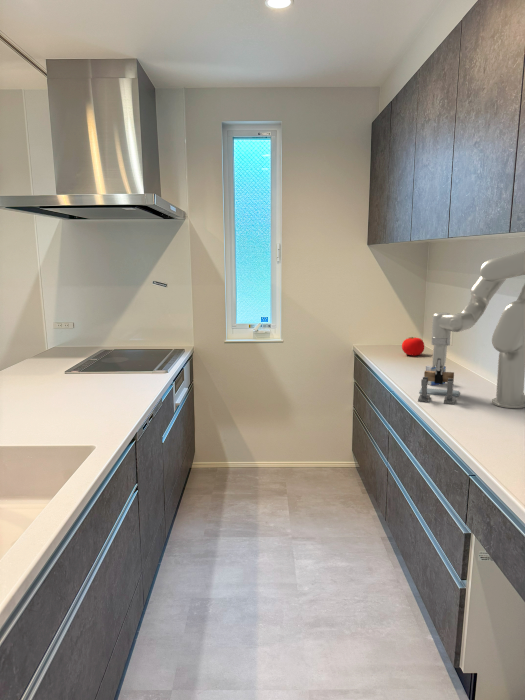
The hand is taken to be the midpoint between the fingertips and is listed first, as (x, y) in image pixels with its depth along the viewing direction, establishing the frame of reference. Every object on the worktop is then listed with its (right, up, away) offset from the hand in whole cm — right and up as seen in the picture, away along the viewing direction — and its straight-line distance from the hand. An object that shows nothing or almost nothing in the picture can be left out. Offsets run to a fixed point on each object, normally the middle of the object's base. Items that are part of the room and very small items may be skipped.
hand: (438, 382), depth 210 cm
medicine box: (+4, -2, +16) cm, 17 cm away
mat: (0, -5, +1) cm, 5 cm away
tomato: (+16, +11, +87) cm, 89 cm away
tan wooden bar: (0, +1, 0) cm, 1 cm away
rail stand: (-5, -7, -11) cm, 14 cm away
